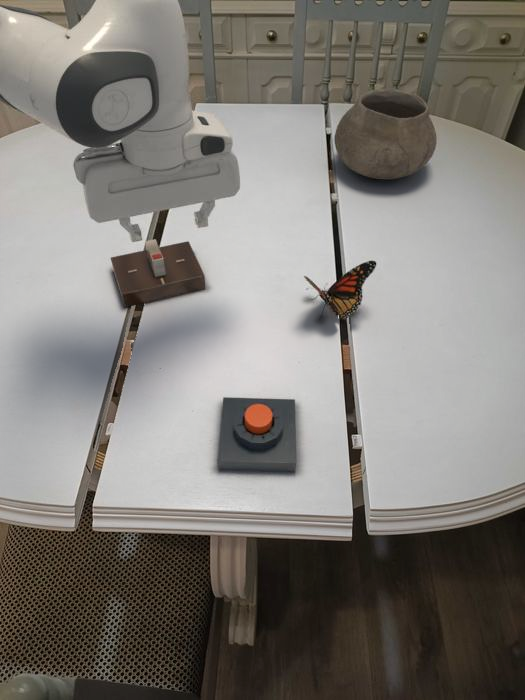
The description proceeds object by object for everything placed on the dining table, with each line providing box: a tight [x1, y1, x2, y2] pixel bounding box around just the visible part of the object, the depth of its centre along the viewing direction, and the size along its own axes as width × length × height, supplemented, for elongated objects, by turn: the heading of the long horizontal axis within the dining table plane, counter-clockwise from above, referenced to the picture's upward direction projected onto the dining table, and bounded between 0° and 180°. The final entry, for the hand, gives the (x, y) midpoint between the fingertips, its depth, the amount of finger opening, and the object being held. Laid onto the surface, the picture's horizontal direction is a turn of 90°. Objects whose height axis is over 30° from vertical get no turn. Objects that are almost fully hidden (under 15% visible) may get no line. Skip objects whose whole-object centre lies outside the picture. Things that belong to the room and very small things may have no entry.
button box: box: [217, 396, 298, 472], centre depth 71 cm, size 10×10×4 cm
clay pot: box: [333, 88, 438, 180], centre depth 113 cm, size 22×21×15 cm
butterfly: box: [303, 260, 377, 320], centre depth 85 cm, size 12×10×10 cm
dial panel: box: [110, 241, 207, 308], centre depth 92 cm, size 14×10×3 cm
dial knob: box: [144, 238, 166, 277], centre depth 89 cm, size 6×2×4 cm, turn 21°
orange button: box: [245, 404, 273, 434], centre depth 69 cm, size 4×4×2 cm
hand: (169, 231), depth 75 cm, fingers open, 8 cm apart
